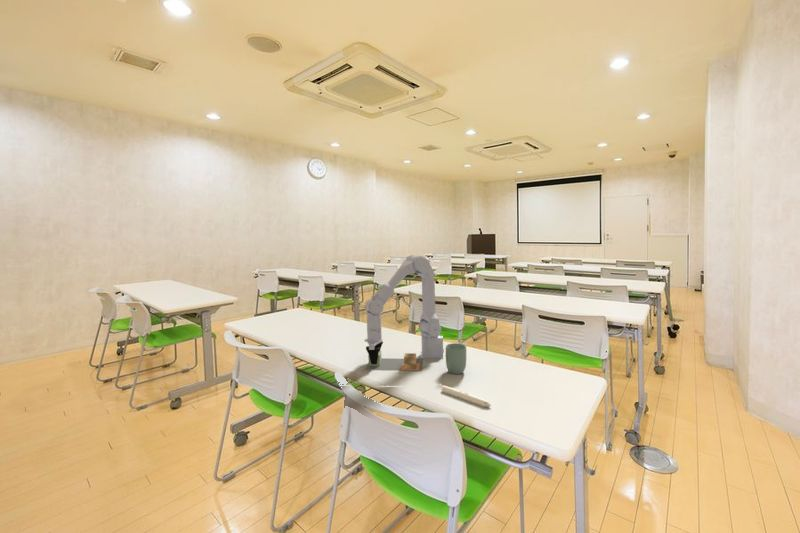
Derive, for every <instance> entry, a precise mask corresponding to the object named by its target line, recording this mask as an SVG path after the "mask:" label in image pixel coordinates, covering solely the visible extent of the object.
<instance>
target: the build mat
mask: <svg viewBox="0 0 800 533" xmlns="http://www.w3.org/2000/svg"><path fill="white" fill-rule="evenodd" d="M381 360H382V362H381V365H380V366H369V362H368V363H367V365H366V367H365V369H364V370H365V371H402V372H406V371H407V372H408V371H409V372H411V371H412V372H419V371H420V372H421V371H422V372H423V362H424V361H423V360H424V358H416V369H405V368H404V358H390V357H388V358H385V357H384V358H383V357H381Z"/></svg>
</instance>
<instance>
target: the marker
mask: <svg viewBox="0 0 800 533" xmlns="http://www.w3.org/2000/svg"><path fill="white" fill-rule="evenodd" d="M440 389H441V392H443V393H445V394H448V395H450V394H451V396H453V397H456V398H458V397H459V399H461V398H462V399H461V400H465V401H467V402H469V401H470V403H473V404H475V405H478V406H481V407H484V408H490V407H491V406H492V405H491V403H490V402H489V401H487V400H486V399H484V398H481V397H478V396H475V395H473V394H470V393H467V392H465V391H464V392H463V391H461V390H458V389H455V388H454V387H453V388H452V387H450V386H447V385H442V386H441V388H440Z"/></svg>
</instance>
